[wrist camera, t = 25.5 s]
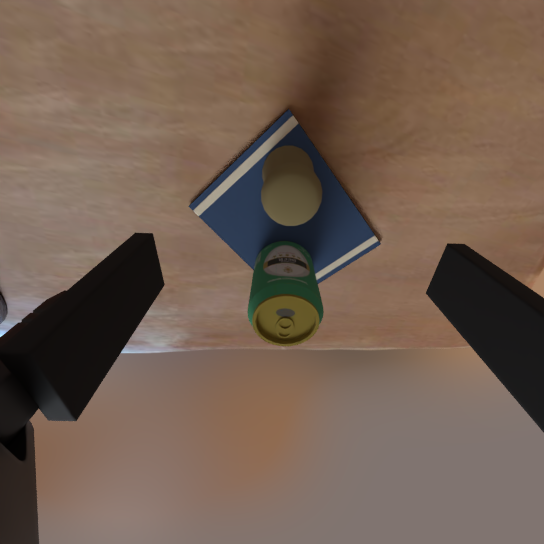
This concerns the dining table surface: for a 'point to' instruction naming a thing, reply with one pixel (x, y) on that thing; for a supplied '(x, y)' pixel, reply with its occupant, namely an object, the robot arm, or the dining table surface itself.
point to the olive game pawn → (290, 186)
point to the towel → (264, 231)
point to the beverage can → (284, 295)
